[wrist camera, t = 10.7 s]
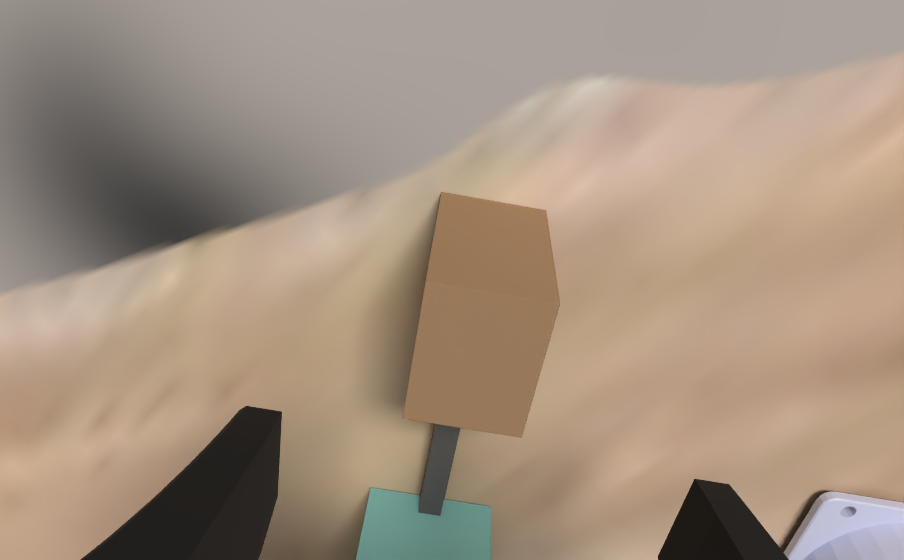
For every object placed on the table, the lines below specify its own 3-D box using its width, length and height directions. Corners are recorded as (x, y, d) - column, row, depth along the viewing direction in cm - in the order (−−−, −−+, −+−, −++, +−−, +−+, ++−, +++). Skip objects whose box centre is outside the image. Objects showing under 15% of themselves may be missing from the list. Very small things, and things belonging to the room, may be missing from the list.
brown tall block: (572, 214, 20) (593, 309, 15) (467, 591, 28) (462, 720, 24) (414, 187, 19) (391, 275, 15) (358, 574, 28) (332, 701, 24)
